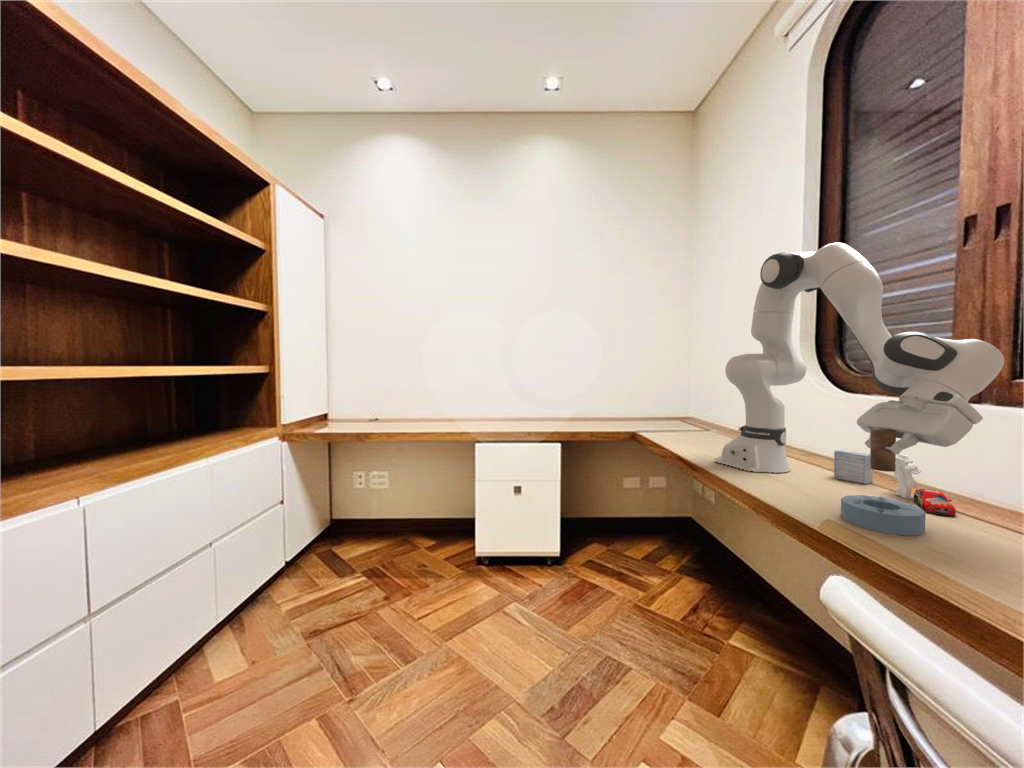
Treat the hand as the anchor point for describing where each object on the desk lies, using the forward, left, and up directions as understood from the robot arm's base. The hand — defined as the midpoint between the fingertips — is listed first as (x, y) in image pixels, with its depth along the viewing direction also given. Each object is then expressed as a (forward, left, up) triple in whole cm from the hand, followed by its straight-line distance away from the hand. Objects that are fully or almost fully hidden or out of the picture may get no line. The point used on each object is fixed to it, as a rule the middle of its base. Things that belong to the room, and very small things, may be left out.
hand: (879, 449), depth 85 cm
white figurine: (-3, +28, -17) cm, 33 cm away
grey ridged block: (-16, +35, -17) cm, 42 cm away
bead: (0, +1, -16) cm, 16 cm away
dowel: (0, +1, -4) cm, 4 cm away
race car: (+4, +23, -17) cm, 29 cm away
